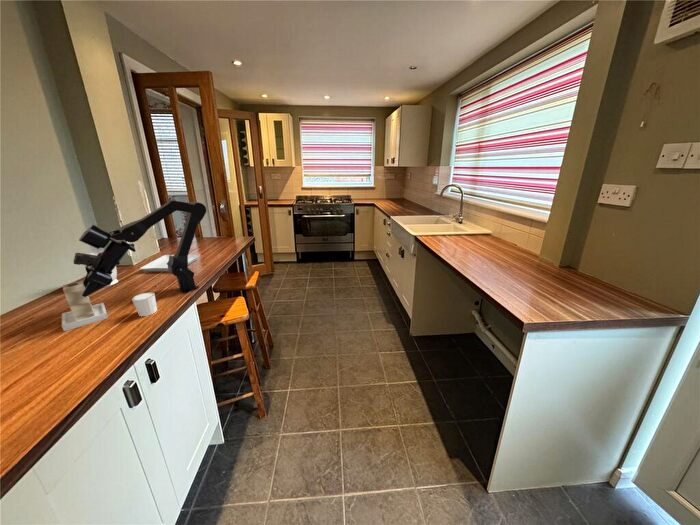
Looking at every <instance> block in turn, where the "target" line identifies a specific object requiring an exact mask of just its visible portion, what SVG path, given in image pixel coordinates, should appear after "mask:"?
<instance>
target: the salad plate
mask: <svg viewBox="0 0 700 525" xmlns="http://www.w3.org/2000/svg"><path fill="white" fill-rule="evenodd" d="M170 255H171V256H174V255H175V254H165V255H162V256H160V257H158V258H156V259H154V260H152V261H151V262H149V263H146V264H145V265H143V266H141V267H140V268H139V269H140V270H141V271H144V272H155V273H156V272H170V271H169V269H168V265H167V263H168V261H169V256H170ZM200 258H201V254H188V266H190V265H191V264H192V263H194V262H195V261H197V260H198V259H200Z"/></svg>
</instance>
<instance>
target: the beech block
mask: <svg viewBox="0 0 700 525" xmlns="http://www.w3.org/2000/svg"><path fill="white" fill-rule="evenodd" d="M83 281H84V280H81V281H75V282H71V283H67V284H63V285H62V290H63V293H64V295H65V298H66V300H67V303H68V306H69V308H70V311H72V313H73V315H74V318H75V320H76V321H78V320H82V319H85V318H89V317H92V316H95V315H94V310H93V307H92V306H93V304H92V302H91V300H90V297H89V295H88V296H87V297H84V296H82V294H83V292H84V290H85V286H84V283H83Z"/></svg>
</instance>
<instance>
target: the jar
mask: <svg viewBox="0 0 700 525" xmlns="http://www.w3.org/2000/svg"><path fill="white" fill-rule="evenodd" d="M104 250H105V249H104ZM104 250H97V251H91V252H88V253H86V254H91V255H98V254H99V253H102V252H103V251H104ZM85 267H86V265H84V268H85ZM111 277H112V280H113V281H112V282H111V284H110V285H108V286H105V287H110V286H113V285H116V284H117V283H118V282H119V280H118V279H117V277H118V270H117V265H116V266H115V268H114V269H113V270H112V274H111ZM105 287H104V288H105Z"/></svg>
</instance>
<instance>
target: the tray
mask: <svg viewBox="0 0 700 525" xmlns="http://www.w3.org/2000/svg"><path fill="white" fill-rule="evenodd" d="M92 307H93V310H94V315H95V316H92V317H89V318H85V319H82V320H78V321H76V320H75V318H74V315H73V313H72V311H71V310H70V311H67V312H62V313H61V328H62V330H63V331H64V332H67V331H70V330H73V329H76V328H80V327H83V326H84V327H85V326H86V325H90V324H94V323H97V322H100V321H103V320H107V319H109V316H108V312H107V309H106V307H105V303H104V302H100V303H97V304H92Z"/></svg>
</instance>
